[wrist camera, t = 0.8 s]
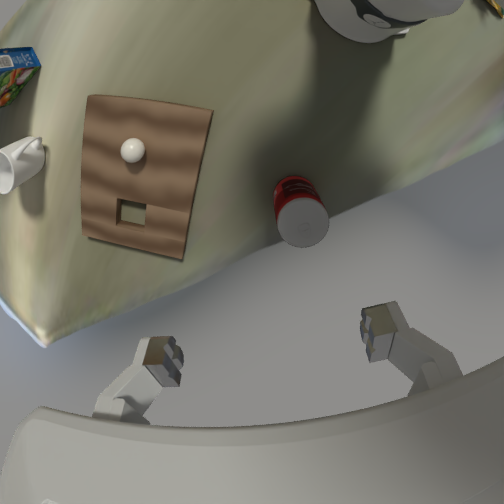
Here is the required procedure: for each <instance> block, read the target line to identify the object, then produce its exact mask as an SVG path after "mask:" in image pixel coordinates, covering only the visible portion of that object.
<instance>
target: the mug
mask: <svg viewBox="0 0 504 504" xmlns="http://www.w3.org/2000/svg"><path fill="white" fill-rule="evenodd" d="M41 143H42V138H41V137H40V136H39V137H36V138H35V137H32V136H29V137H25V138H23V139H21V140H18V141H16V142H14V143H12V144H10V145H8V146H6V147H3V148H1V149H0V193H1V194H7V193H9V192H11V191H12V190H13V189H15V188H16V187H18V186H19V185H21V184H22V183H24V182H25V181H27V180H28V179H30V178H31V177H33V176H34V175H36V174H37V173H38V172H39V171H40V170H41V169H42V167H43V165H44V161H45V152H44V148H43V145H42V144H41Z"/></svg>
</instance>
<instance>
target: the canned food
mask: <svg viewBox="0 0 504 504" xmlns="http://www.w3.org/2000/svg"><path fill="white" fill-rule="evenodd" d="M273 202H274V209H275V215H276V222H277V227H278V231H279V233H280V235H281V237H282V238H283V240H284V241H286V242H287V243H288V244H290V245H292V246H295V247H301V248H303V247H310V246H313V245H315V244H317V243H318V242H320V241H321V240H322V239H323V238H324V236H325V235H326V233H327V231H328V228H329V217H328V214H327V211H326V209H325V207H324V205H323V203H322V201H321V199H320V197H319V196H318V194H317V192H316V190H315V188H314V187H313V185H312V184H311V183H310V182H309V181H308V180H307V179H305V178H302V177H299V176H290V177H287V178H284V179H283V180H281V181H280V182H279V183H278V184H277V186H276V188H275V190H274V193H273Z"/></svg>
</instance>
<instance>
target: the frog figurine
mask: <svg viewBox="0 0 504 504" xmlns="http://www.w3.org/2000/svg"><path fill="white" fill-rule="evenodd" d="M487 1H488V2H489V3H490V4H491V5H492V6H493V7H495V9H496V11H497V12H498V14H499V15H500V16H501V17H502V18H503V15H504V9H503V8H502V7H500V6H499V5H498V4H497V3H496V2H495V1H494V0H487Z"/></svg>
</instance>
